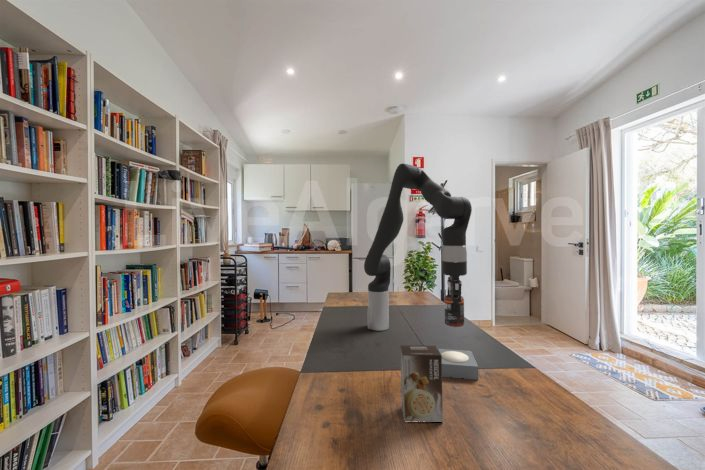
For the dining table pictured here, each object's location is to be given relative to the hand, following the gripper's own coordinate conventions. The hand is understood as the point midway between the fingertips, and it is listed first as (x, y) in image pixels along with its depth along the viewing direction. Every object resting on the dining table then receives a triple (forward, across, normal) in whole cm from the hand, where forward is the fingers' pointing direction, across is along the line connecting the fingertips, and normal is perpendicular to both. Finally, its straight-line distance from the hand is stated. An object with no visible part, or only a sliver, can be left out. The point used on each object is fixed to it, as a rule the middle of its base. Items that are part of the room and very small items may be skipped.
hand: (454, 311), depth 99 cm
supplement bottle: (+4, 0, 0) cm, 4 cm away
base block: (+18, 0, 0) cm, 18 cm away
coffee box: (+19, +27, -11) cm, 35 cm away
